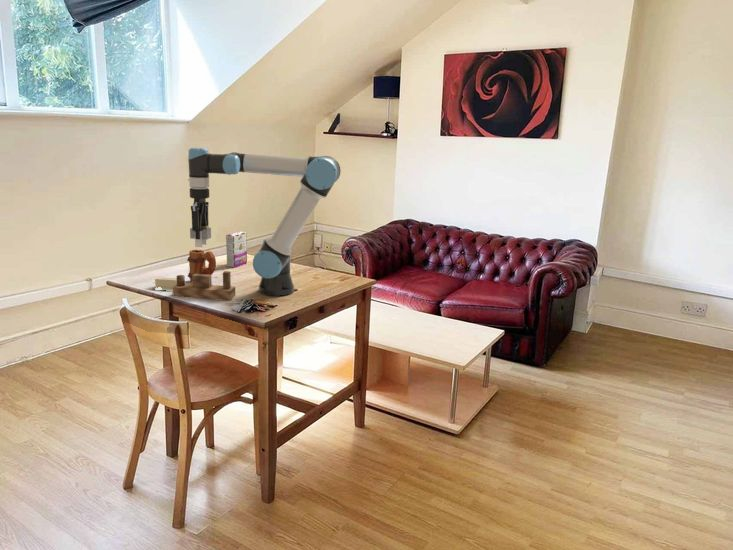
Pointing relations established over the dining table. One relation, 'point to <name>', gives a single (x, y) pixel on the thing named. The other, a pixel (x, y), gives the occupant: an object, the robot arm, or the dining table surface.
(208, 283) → the wooden peg board
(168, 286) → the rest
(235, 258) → the candy bar box
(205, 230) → the lever cap
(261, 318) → the dining table surface
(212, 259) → the mug
